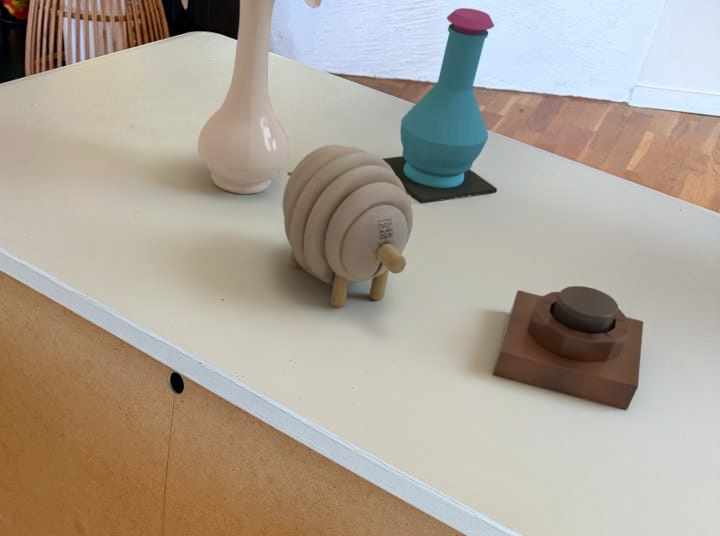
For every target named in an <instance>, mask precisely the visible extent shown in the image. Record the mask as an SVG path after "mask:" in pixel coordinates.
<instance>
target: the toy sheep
mask: <svg viewBox="0 0 720 536" xmlns="http://www.w3.org/2000/svg"><path fill="white" fill-rule="evenodd" d="M383 159H384V158H382V157H380V156H378V155H376V154H373V153H370V152H368V151H366V150H364V149H362V148H359V147H355V146H345V145H342V144H329V145H324V146H321V147H318V148H317V149H315V150H313V151H311V152H310V153H308V154H307V155H306V156H305V157H303V158H302V159H301V160H300V161H299V162H298V164H297V165H296V166H295V168H294V169H293V170H292V171H287V173H286V176H289V178H288V179H287V182H286V185H285V188H284V191H283V197H282V211H283V216H284V217H283V219H284V220H283V223H284V231H285V235H286V239H287V242H288V243H289V245H290V247H291V254H290V255H291V256H290V265H291V266H292V267H294V268H302V269H303V270H304V271H306V272H307V273H309V274H310V275H311V276H314V277H316V278H318V279H319V280H321V281H322V282H324V283H326V284H328V285H332V291H331V295H330V296H331V297H330V305H331V306H333V308H342V307H344V305H345V303H346V299H347V295H348V289H349V286H350V285H354V284H357V283H359V282H365V281H369V280H371V283H370V284H371V285H370V290H369V297H370V299H372V300H374V301H380V300H382V299H383V298H384V295H385V291H386V288H387V281H388V276H389V272H390V273H392V274H400V273H402V272H403V271H404V270H405V268H406V265H407V260H406V258H405V257H404V255H402V254H403V252H404V250H406V249H405V248H406V247H407V244H408V242H409V240H410V237H411V234H412V230H413V225H414V212H413V207H412V203H411V201H410V199H409V197H408V193H407V192H406V191H405V188H404V186H403V184H402V182H401V181H400V179H399V178H398V177H397V176H396V175H395V173H394V171H393V170H392V168H391V167H390V166H389V165H388V164H387V163H386V162H385V161H384V160H383Z"/></svg>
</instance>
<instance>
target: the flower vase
mask: <svg viewBox="0 0 720 536" xmlns="http://www.w3.org/2000/svg"><path fill="white" fill-rule="evenodd" d="M188 1H189V0H181V4H182V6H183V8H184V10H187V8H188V3H189V2H188ZM275 2H276V0H239V22H238V30H237V31H238V32H237V40H236V48H235V49H236V50H235V58H234V66H233V71H232V77H231V80H230V81H231V82H230V85H229V88H228V91H227V93H226V96H225V97H224V100H223V102H222V104H221V106H220V107H218V109H217V110H216V111H215V112H214V113H213V114H212V115H211V116H210V117H209V118H208V119H207V121H206V122H205V123H204V124H203V126H202V127H201V129H200V132H199V136H198V141H197V152H198V154H199V157H200V158H201V161H202V162H203V164H204V165H205V167H206V169H208V170H209V171H210V178H211V181H212V182H213V184H214V185H215V186H217V187H218V188H220V189H221V190H224V191H227V192H230V193H234V194H241V195H253V194H257V193H263V192H264V191H265V190H267V189H268V188H269V187H270V185H271V183H272V179H273V178H275V177H276V176H277V175H279V174H280V172H282V170H284V168H285V166H286V165H287V163H288V161H289V159H290V153H291V151H290V141H289V137H288V135H287V132H286V130H285V128H284V126H283V125H282V124H281V122H280V120H279V119H278V118H277V116H276V115H275V112H274V109H273V107H272V102H271V98H270V92H269V83H268V75H269V74H268V73H269V71H268V70H269V55H270V53H269V52H270V42H271V41H270V40H271V27H272V18H273V13H274V12H273V11H274V7H275ZM304 2H305V3H306V4H307V6H309V7H310V8H312V9H317V8H318V7H320V5H321V4H322V0H304Z"/></svg>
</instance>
